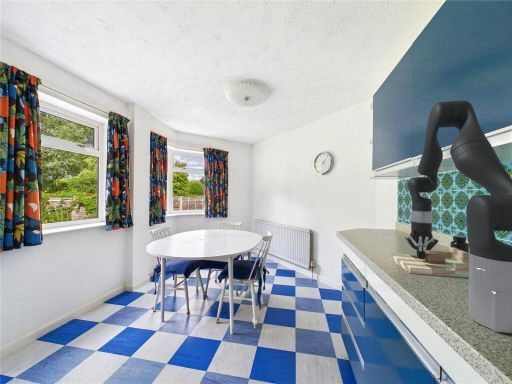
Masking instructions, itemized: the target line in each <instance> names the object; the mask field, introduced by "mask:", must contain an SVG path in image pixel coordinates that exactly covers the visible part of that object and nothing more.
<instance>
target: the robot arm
mask: <svg viewBox="0 0 512 384" xmlns="http://www.w3.org/2000/svg"><path fill="white" fill-rule="evenodd" d="M441 128H442V129H444V128H455V129H457V130H458V133H459V134H458V136H457V137H456V138H455V140H454V141H453V143H452V145H451V147H450V150H449V154H450V157H451V160H452V162H453V164H454V166H455V168H456V170H457V171H458V172H460V173H461V174H462V175H464V176H465V177H467V178H468V179H470V180H471V181H473V182H474V183H476V184H478V185H479V186H481V187H482V188H483V189H485V190H486V191H487V192H488V194H476V195H474V196H472V197H470V198H469V200H468V201H467V203H466V211H465V215H466V216H465V217H466V218H465V219H466V230H467V231H466V235H467V237H466V239H467V243H468V244H469V278H468V317H469V318H470V319H471V320H472V321H474V322H476V323H477V324H479V325H482V326H483V327H486V328H488V329H490V330H492V331H493V332H495V333H496V332H497V333H504V334H510V335H512V245H511V244H508V243H504V242H503V241H500V240H499V239H497V237H496V233H495V232H496V231H498V232H500V231H501V232H512V177H511V175H510V174H509V172H508V171H507V169H506V168H505V167H504V165H503V163H502V162H501V160H500V158H499V157H498V155H497V152H496V151H495V149H494V148H493V146H492V144H491V142H490V140H488V138H487V137H486V135H485V133H484V131H483V129H482V126H481V125H480V122H479V121H478V117H477V114H476V112H475V110H474V107H473V105H472V103H470V101H467V100H463V99H462V100H460V99H459V100H450V101H440V102H436V103H434V104H433V105H432V107H431V109H430V110H429V114H428V119H427V125H426V131H425V138H424V144H423V151H422V154H421V157H420V161H419V163H418V166H417V172H418V174H419V175H421V176H422V177H421V176H420V177H419V176H418V177H417V176H416V177H415V176H414V177H410V179H409V180H408V181H407V187H408V188H407V189H408V191H409V193H410V194H409V195H410V197H411V198H410V199H411V207H412V208H411V210H412V211H411V218H410V221H411V222H410V223H411V225H410V231H411V232H410V234H409V235H408V236H406V237H404V240H405V241H406V242H407V243H408V244H409V246H410V247H411V248H412V249H414V250H416V255H417V257H418V259H423V260H424V258H425V252H427V250H432V249H433V248H434V247H435V246H436V245H437V244H439V239H437V238H434V235H433V234H432V233H433V213H432V209H433V208H432V207H433V206H432V205H433V202H432V199H431V198H428V197H425V196H424V197H422V196H421V193H426V194H427V193H430V194H431V193H433V192H435V191H436V190H437V189H438V174H439V170H440V168H441V164H442V162H443V160H444V153H443V150H442V148H441V145H440V143H439V140H438V139H439V138H438V133H439V129H441Z"/></svg>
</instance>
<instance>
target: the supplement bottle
mask: <svg viewBox="0 0 512 384" xmlns="http://www.w3.org/2000/svg"><path fill="white" fill-rule="evenodd" d="M450 247H452V248H456V249H459V250H461V251H464V252H467V253H469V244H468V241H467V237H466V236H464V235H463V236H462V235H453V236H452V241H450V245H449V248H450Z"/></svg>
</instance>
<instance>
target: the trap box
mask: <svg viewBox="0 0 512 384" xmlns="http://www.w3.org/2000/svg"><path fill="white" fill-rule="evenodd" d="M426 252H431V253H438V254H440V255H443V256H445V265H442V264H429V263H427V262H426V261H424V260H422V259H418V257H417V254H403V253H398V254H397V253H390V259H391V260H392V261H393V262H395V263H396V264H397V265H398V266H400V267H401V268H402V269H404V270H405V271H406V272H408V273H409V274H413V275H427V276H439V277H450V278H460V279H462V278H463V279H469V253H467V252H464V251H461V250H459V249H456V248H452V247H450V246H449V251H447V250H432V249H431V250H427V251H426Z"/></svg>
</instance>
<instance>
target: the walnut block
mask: <svg viewBox="0 0 512 384" xmlns="http://www.w3.org/2000/svg"><path fill="white" fill-rule="evenodd" d="M422 260H423V259H422ZM424 261H426V262H427V263H429V264H442V265H445V256H443V255H440V254H438V253H431V252H427V251H426V252H425V258H424Z"/></svg>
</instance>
